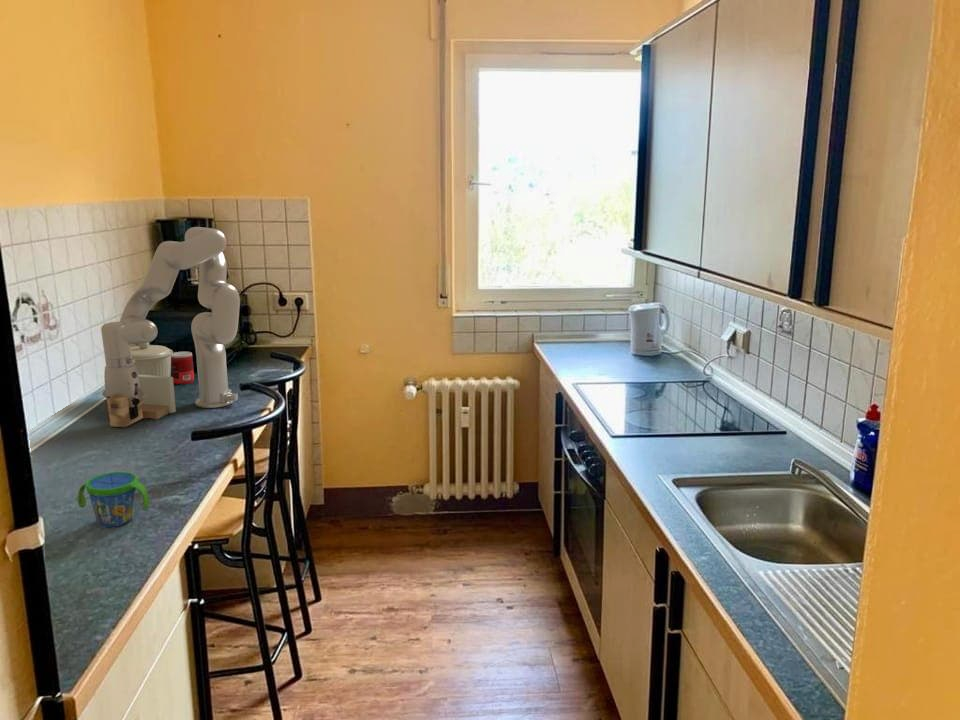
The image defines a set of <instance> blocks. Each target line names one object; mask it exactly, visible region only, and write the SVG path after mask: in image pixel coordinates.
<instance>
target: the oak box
mask: <svg viewBox="0 0 960 720" xmlns="http://www.w3.org/2000/svg"><path fill="white" fill-rule="evenodd" d="M135 394H136V393H135ZM136 396H137V398H138V395H136ZM132 400H133V399H132ZM106 402H107V410H109V412H108V416H109V423H110V427H117V428H126V427H128V426H130V425H132V424H134V423H136V422H138V421H141V420H142V419H144V418H143V412H142V404H141V402H140V403H139V405H137V406H138V417H137V418H135V419H130V412H129V407H131V406H130V404H129V402H128V398H126V397H114V396H112V397H110V398H106ZM133 402H134V400H133Z"/></svg>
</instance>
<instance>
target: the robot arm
mask: <svg viewBox="0 0 960 720" xmlns="http://www.w3.org/2000/svg"><path fill="white" fill-rule="evenodd" d="M226 246H227V239H226V236H225V234H224V233H223V231H220V230H219V229H217V228H211V227H204V226H203V227H201V226H194V227H190V228H188V229H187V231H185V234H184V241H173V240H167V241H166V240H165V241H162V242H161V243H160V244H159V245H158V246H157V248H156V251H155V252H154V255H153V256H152V257H153V258H152V259H151V262H150V265H149V267H148V270H147V272H146V275H145V277H144V280H143V282H142V284H141V285H140V286H139V287H138V288H137V289H136V290H135V292H134V293H133V294H132V296H130V298H129V299H128V301H127V303H126V304H125V307H124V309H123V311H122V314H121V316H120V319H119V321H112V322H106V323H103V324H102V326H101V328H100V332H101V337H102V338H101V339H102V344H103V351H104V359H105V367H104V373H103V374H104V378H103V379H104V389H103V392H102V393H101V394H102V396H103V398H105V399H107V398H110V397H112V396H114V397H126V398H128V402H129V404H130V406H131V407H129V412H130V419H135V418H137V417H138V406H137V405H139V403H140V402H141V400H142V399H144V398H145V395H144V393H143V392H142V388H141V382H140V378H139V374H138V371H137V368H136V366H135V365H133V363H135V360H134V359H132V354H131V345H138V344H143V343H149V344H150V343H151V342H153V341H154V340H155V339H156V338H157V336H158V328H157V325H156V324H155V323H154V322H153V321H151V320H149V319H146V318H147V315H148V313H149V311H150V310H151V308H152V307H153V306H154V305H155V304H157V302H159V301H161V300H163V299H164V298H166V297H168V296H169V295H170V294H171V293H172V290H173V287H174V284H175V283H176V279H177V277H178V275H179V272H180V270H182V271H185V270H189V269H192V268H194V267H196V266H198V265H199V276H198V290H197V300H198V302H199V304H200V305H201V306H203V307H204V308H206V309H210V310H211V312H208V311H204V312H200V313H198V314H197V315H196V316H194V317H193V319H192V321H191V325H190V326H191V328H190V329H191V335H192V339H193V343H194V348H195V355H196V356H195V357H196V367H197V368H196V369H197V381H198V390H199V391H198V393H199V394H198V395H199V397H198V398H197V399H196V400H195V402H194V403H195V406H196V407H199V408H204V409H205V408H206V409H213V408H222V407H227V406H229V405H231V404H233V403H234V401H238V399H239V393H233V392H232V389H231V388H229V381H228V380H229V379H228V367H227V353H226V347H225V345H228V344H231V343H232V342H233V340H235V338H236V336H237V333H238V329H239V328H238V327H239V319H240V318H239V317H240V309H241V307H240V306H241V298H240V294H239V291H238V289H237V288H236V287H235V286H234V285H232V284H230V283H227V269H228V268H227V265H228V264H227V260H226V257H225V254H224V251H225V249H226ZM135 393H136V394H135ZM136 395H138V398H137V396H136ZM132 399H133V400H134V402H133V400H132Z"/></svg>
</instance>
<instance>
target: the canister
mask: <svg viewBox="0 0 960 720" xmlns="http://www.w3.org/2000/svg"><path fill="white" fill-rule="evenodd" d="M137 345H138V346H137ZM137 345H136V346H132V347H131V354H132V359H134V360H135V363H133V365H135V366H136V368H137V371H138V374H139V375H152V376H165V377H172V372H171V354H172V353H174V351H173V349H171V348H168V347H167V346H164V345H158V344H157V345H155V344H150V342H149V343H143V344H137Z"/></svg>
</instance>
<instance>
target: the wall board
mask: <svg viewBox="0 0 960 720" xmlns="http://www.w3.org/2000/svg"><path fill="white" fill-rule="evenodd" d="M139 378H140V382H141V388H142V392H143V393H144V395H145V398H144V399H142V400H141V404H142V412H143V418H142V419H147V418H154V419H153V420H159V419H161V418H163V417H165V416H167V415H169V414H168V413H170V414H171V413H173V412H175V413H176V412H177V408H176V399H175V398H176V396H175V395H176V394H175V384H174V383H173V377H172V376H170V377H165V376H152V375H139ZM107 410H108V409H107ZM108 413H109V410H108ZM166 414H167V415H166ZM173 414H174V413H173ZM164 415H165V416H164ZM162 416H163V417H162ZM160 417H161V418H160ZM158 418H159V419H158Z"/></svg>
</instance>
